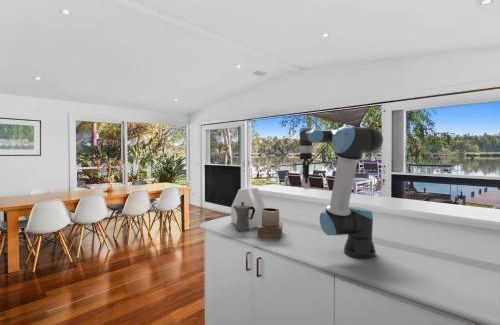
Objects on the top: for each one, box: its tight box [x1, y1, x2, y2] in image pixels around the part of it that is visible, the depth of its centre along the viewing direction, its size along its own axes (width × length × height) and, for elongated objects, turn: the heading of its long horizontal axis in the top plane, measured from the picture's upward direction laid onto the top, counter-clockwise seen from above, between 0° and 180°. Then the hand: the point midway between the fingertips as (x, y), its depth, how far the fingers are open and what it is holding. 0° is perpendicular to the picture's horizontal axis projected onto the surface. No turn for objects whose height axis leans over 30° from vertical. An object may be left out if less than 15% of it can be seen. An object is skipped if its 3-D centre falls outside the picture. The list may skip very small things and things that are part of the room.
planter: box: [262, 207, 280, 227], centre depth 182 cm, size 11×11×10 cm
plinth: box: [257, 221, 283, 240], centre depth 183 cm, size 14×14×6 cm
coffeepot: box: [233, 202, 255, 232], centre depth 193 cm, size 15×9×18 cm, turn 69°
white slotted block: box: [230, 186, 266, 229], centre depth 208 cm, size 19×15×25 cm
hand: (305, 187), depth 182 cm, fingers open, 13 cm apart
